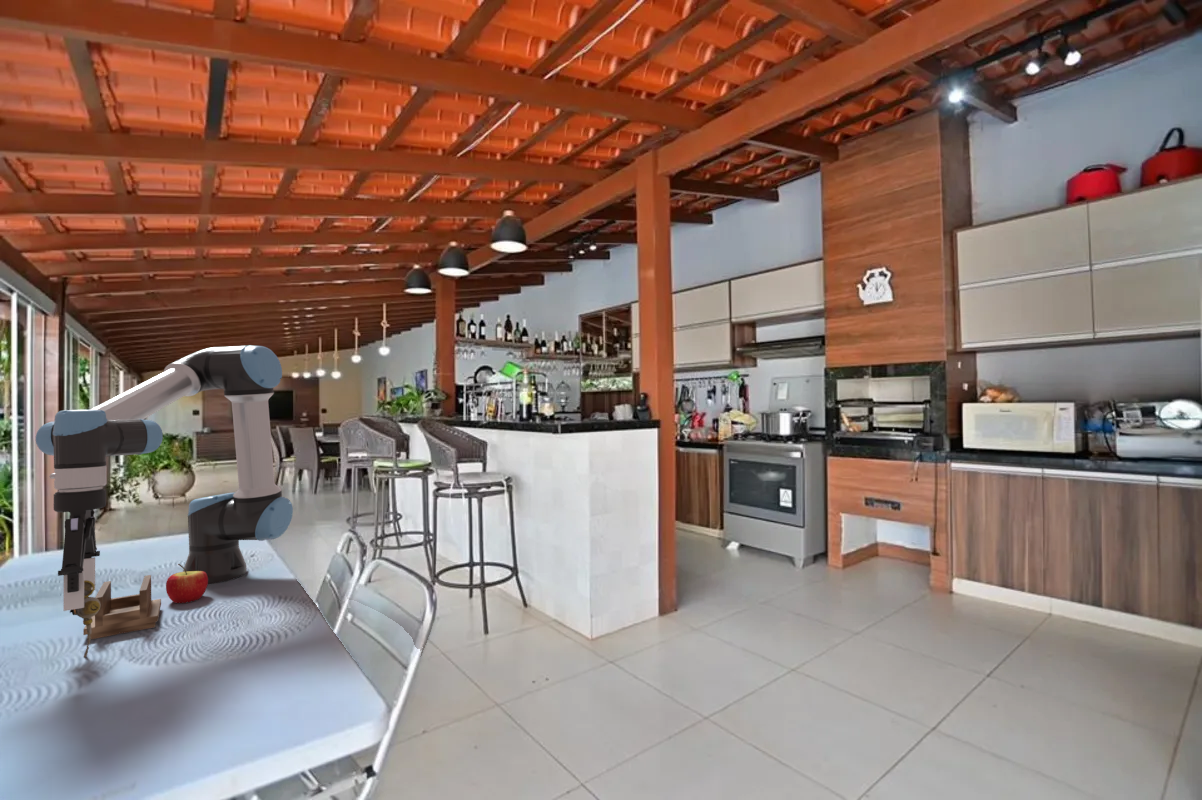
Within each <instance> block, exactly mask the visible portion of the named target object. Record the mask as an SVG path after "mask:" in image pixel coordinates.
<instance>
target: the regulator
mask: <svg viewBox="0 0 1202 800" xmlns="http://www.w3.org/2000/svg"><path fill="white" fill-rule="evenodd" d="M92 587H93V589H92V590H91V588H92ZM94 591H95V590H94V584H93V583H92V582H91V581H87V580H85V581H84V608H79V609H73V610H69V613H72V615H73V616H77V617H79V618H81V619H82V622H83V625H84V626H86V628H87V633H88V640H87V645H86V648H85V650H84V655H83V658H86V657H88V653H89V649H90V647H89V645H90V644H91V640H92V639H91V636H90V634H91V623H92V622H93V620H92V618H91V617H93V616H94V615H96V614H97V613H98V611H99V610H100V606H101V604H100V601H99V600H98V599H97V598H95V597H96V596H95V597H94V596H91V595H92V594H93V593H94Z"/></svg>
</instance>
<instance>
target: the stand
mask: <svg viewBox="0 0 1202 800" xmlns="http://www.w3.org/2000/svg"><path fill="white" fill-rule="evenodd" d="M95 598H97V599H98V600H99V601H100V604H101V606H100V610H99V611H98V613H97V614H96V615H94V616H93V617H91V618H92V620H93V622H92V623H91V634H90V636H91V640H95V639H99V638H106V637H111V636H115V635H121V634H125V633H131V632H138V631H141V630H147V629H152V628H156V623H157V622H158V621H159V617H160V616H159V615H160V611H161V606H162V598H158V599H152V574H149V575H144V577H143V580H142V582H141V585H140V587H139V593H138V594H131V595H125V596H124V595H123V596H119V597H114V598H113V597H112V581H111V580H109V581H108V580H107V581H104V582H103V583H102V585H101V586H100V588H99V590H98V591H97V593H96V595H95ZM82 634H83V636H86V635H87V637H86V638H87V641H88V633H87V628H86V625H84V628H83V633H82Z"/></svg>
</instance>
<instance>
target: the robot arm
mask: <svg viewBox="0 0 1202 800" xmlns="http://www.w3.org/2000/svg"><path fill="white" fill-rule="evenodd" d="M282 369H283V368H282V365H281V361H280V360H279V358H278V356H277V354H275V353H274V351H273V350H272V349H270V348H268V347H266V346H263V345H252V344H248V345H233V346H213V347H207V348H203V349H200V350H198V351H197V350H196V351H195V352H193V353H190V354H188V355H186V356H184V357H183V356H182V357H181V358H179V359H176V360H175V361H174V362H171V363H169V364H168V365H166V366H165V367H164V369H163V372H161V373H158V374H157V375H155V376H153V377H151V378H149V379H147V380H145V381H143V382H141V383H139V384H137V385H134V386H133V387H131V388H129V389H127V390H125V391H123V392H122V393H119V394H118V395H116V396H113V397H112V398H110V399H108V400H106V401H104V402H101V403H100V404H98V405H96V406H93V407H92V408H90V409H69V410H68V409H64V410H59V411H58V412H56V413H55V415H54V420H53V421H49V422H46V423H44V424H43V425H42V426H40V428H38V429H37V431H36V433H35V444H36V446H37V447H38V449H39V450H40V452H42V453H43V454H45V455H48V456H53V470H54V471H53V472H54V473H50V474H49V479H54V480H53V487H54V488H53V489H54V490H58V491H56V492H55V493H54V494H53V511H54V512H56V513H69V518H66V519H65V521H64V540H63V550H62V551H63V554H62V560H61V561H62V565H61V569H59V570H57V576H60V577H61V576H63V612H66V611H70V610H73V609H79V608H84V581H85V580H87V581H91V582H92V583H93V584H94V591H95V590H96V557H100V556H101V550H98V547H97V540H96V527H95V525H96V517H95V513H96V511H95V510H99V509H102V508H105V507H106V505H107V489H105V488H103V487H105V486H106V485H107V483H108V481H107V477H108V475H107V472H108V471H107V469H108V468H107V467H108V466H107V457H112V456H119V457H120V456H130V455H132V456H133V455H135V456H136V455H139V456H140V455H144V454H149V453H153V452H155V451H156V450H158V449H159V447H160V446H161V445H162V442H163V436H164V435H163V429H162V427H161V425H159V424H158V423H157V422H156V421H154V420H152V419H146V418H148V417H150V416H152V415H153V414H155V413H157V412H159V411H160V410H162V409H164V408H165V407H167V406H169V405H171V404H172V403H174V402H176V401H178V400H180V399H182V398H183V397H192V396H195V395H197V394H199V393H200V392H204V391H210V390H223V394H224V397H225V398H226V399H227V400H228V401H230V402H231V410H232V411H231V412H232V422H233V424H232V425H233V434H234V435H233V436H234V447H235V457H236V469H237V480H238V482H237V483H238V489H237V490H236V491H234V492H233V491H232V492H226V493H220V494H215V495H209V496H204V497H199V498H195V499H192V500H191V501H190V502H189V504H188V514H187V525H188V526H187V527H188V531H187V532H188V556H187V558H186V561H185V565H184V566H183V567H184V569H185V570H186V572H187V571H204V572H205V573H206V574H207V577H208V584H207V585H210V584H211V585H212V584H217V583H222V582H223V583H224V582H227V581H230V580H235V579H237V578H240V577H242V576H244V575H245V574H247V562H246V560H245V558H244V556H243V554H242V553H243V552H242V551H241V549H240V541H259V542H263V541H268V540H270V541H271V540H276V539H279V538H280V537H281V536H282V535H284V534H285V533H286V531H287V530H288V529H289V526H290V524H291V523H292V519H293V514H294V510H293V509H294V508H293V507H294V506H293V503H292V502H291V501H290V500H289V498H287V497H285V496H283V494H282V493H283V492H282V487H280V486H278V485H277V484H276V483H275V470H274V458H273V447H272V446H273V445H272V434H271V432H272V431H271V420H270V408H269V406H270V405H269V399H270V398H271V397H272V396H273V395H274V394H275V390H274V388H275V387H277V386H278V385H280V383H281V379H282V378H283V370H282ZM182 569H183V568H182ZM184 569H183V570H182V572H185V570H184ZM92 589H93V587H92V588H91V590H92Z"/></svg>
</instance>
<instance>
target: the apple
mask: <svg viewBox="0 0 1202 800" xmlns="http://www.w3.org/2000/svg"><path fill="white" fill-rule="evenodd" d="M177 565H178V566H179V567H181V568H182V569H184V566H183V565H181V564H180V563H177ZM184 570H185V569H184ZM208 585H209V584H208V577H207V574H206V573H205V572H204V571H187V572H186V570H185V572H183V571H179V572H176V573H174V574H171V575H170V576H168V578H167V579H166V583H165V590H166V591H165V592H166V594H167V596H168V598H169V599H170V600H171V602H173V603H174V604H186V602H188V603H191V601H192V602H195V600H196V601H199V599H201V598H202V597H203V595H204V593H205V592H206V590H207V587H208Z"/></svg>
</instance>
